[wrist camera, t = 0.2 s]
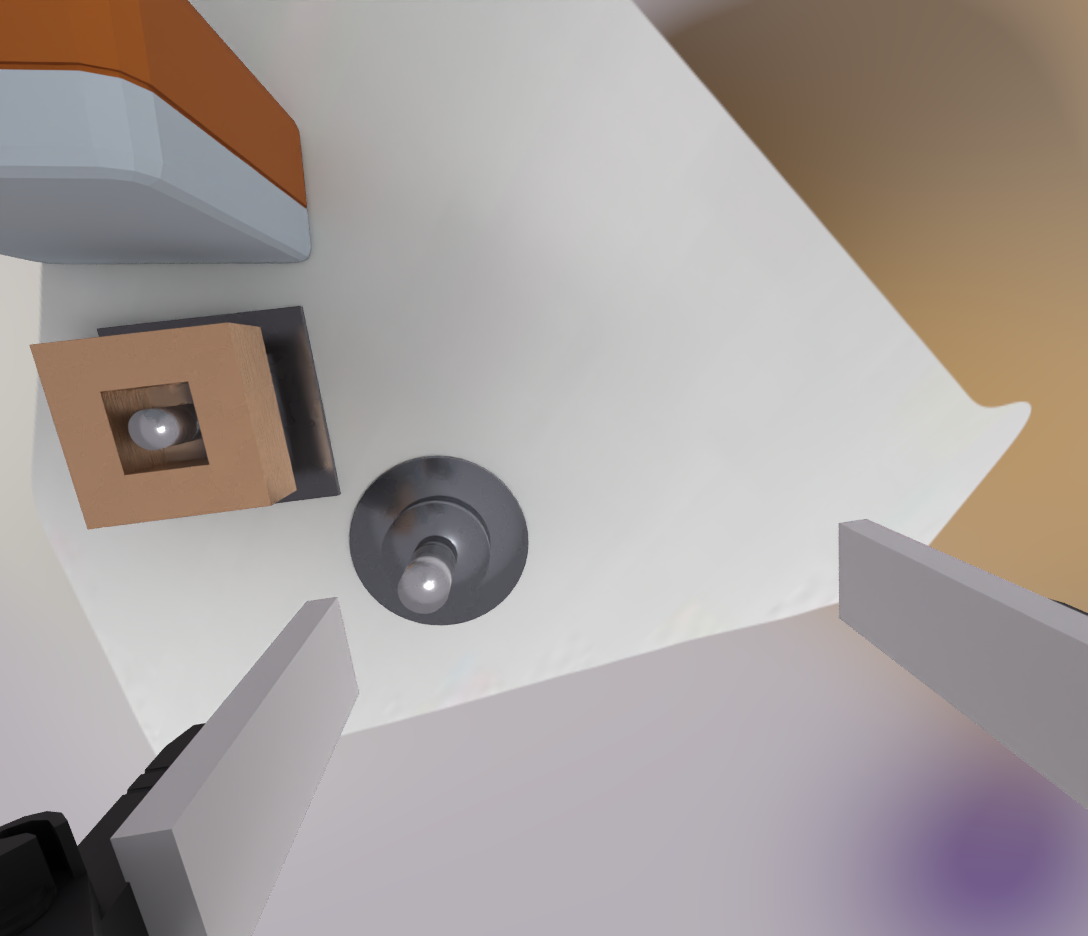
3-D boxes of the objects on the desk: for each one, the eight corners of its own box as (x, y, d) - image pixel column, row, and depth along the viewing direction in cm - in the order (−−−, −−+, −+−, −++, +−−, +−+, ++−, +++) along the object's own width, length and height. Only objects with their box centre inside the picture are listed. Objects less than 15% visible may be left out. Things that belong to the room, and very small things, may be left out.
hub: (335, 468, 40) (287, 498, 31) (516, 445, 40) (519, 469, 32) (369, 633, 43) (333, 703, 34) (537, 609, 43) (545, 672, 35)
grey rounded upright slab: (305, 127, 35) (38, -186, 15) (319, 264, 37) (97, 148, 17) (15, 124, 34) (-697, -221, 14) (44, 266, 36) (-550, 143, 16)
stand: (102, 329, 37) (-16, 319, 28) (302, 306, 37) (244, 291, 29) (155, 517, 40) (63, 558, 31) (340, 493, 40) (297, 527, 32)
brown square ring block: (85, 346, 33) (29, 344, 29) (260, 327, 34) (228, 322, 30) (133, 510, 35) (87, 529, 32) (296, 490, 36) (271, 505, 32)
